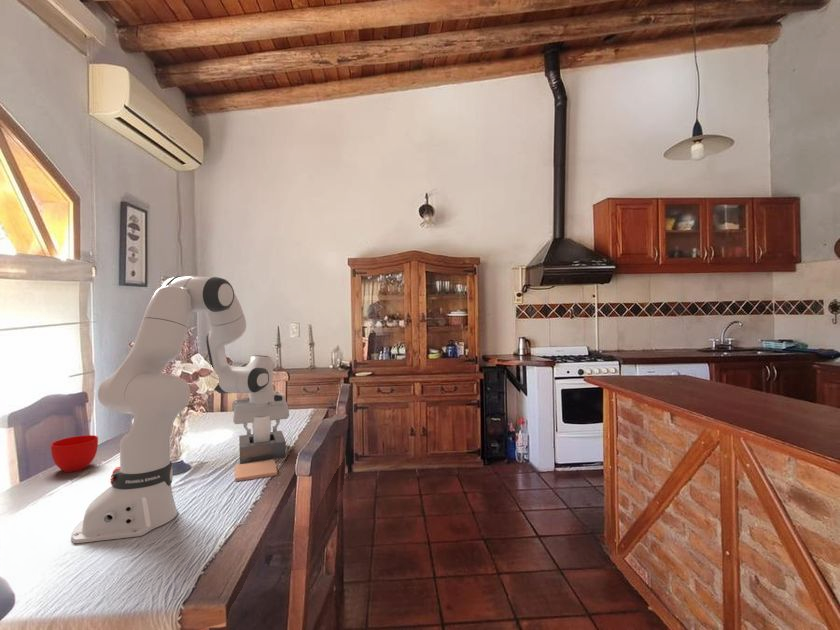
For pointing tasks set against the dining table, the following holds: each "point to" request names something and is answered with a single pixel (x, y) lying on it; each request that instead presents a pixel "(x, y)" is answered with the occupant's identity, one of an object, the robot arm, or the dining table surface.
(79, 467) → the red bowl
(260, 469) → the terracotta tile
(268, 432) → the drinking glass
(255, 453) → the holder block
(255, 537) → the dining table surface
